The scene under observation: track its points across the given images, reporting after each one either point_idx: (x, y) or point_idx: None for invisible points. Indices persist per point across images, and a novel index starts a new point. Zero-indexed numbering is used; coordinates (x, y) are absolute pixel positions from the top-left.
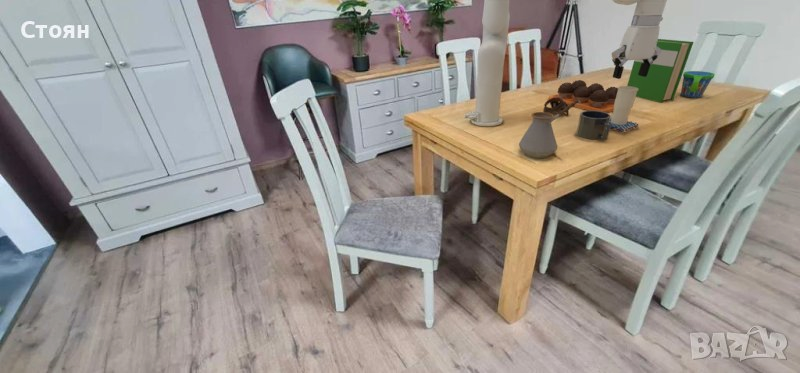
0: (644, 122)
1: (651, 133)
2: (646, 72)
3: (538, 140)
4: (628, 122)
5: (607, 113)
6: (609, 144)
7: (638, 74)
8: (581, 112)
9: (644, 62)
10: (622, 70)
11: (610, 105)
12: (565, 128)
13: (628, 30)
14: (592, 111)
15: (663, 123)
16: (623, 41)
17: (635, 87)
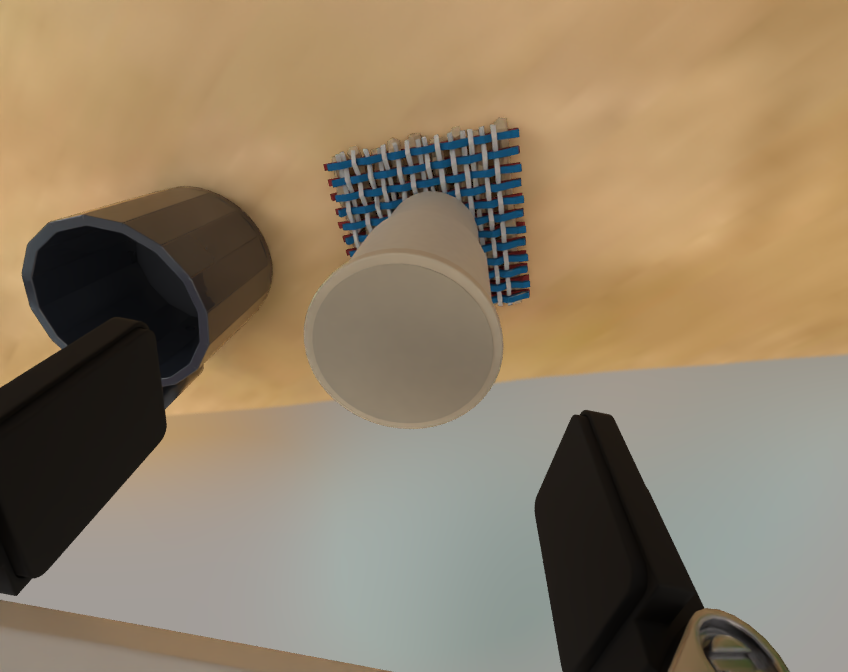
0: (668, 238)
1: (513, 365)
2: (552, 556)
3: None
4: (491, 262)
5: (205, 331)
6: (231, 364)
7: (572, 422)
8: (44, 228)
9: (636, 657)
10: (68, 529)
11: None
12: (137, 74)
13: None
14: (141, 242)
15: (733, 302)
16: None
17: (483, 375)
